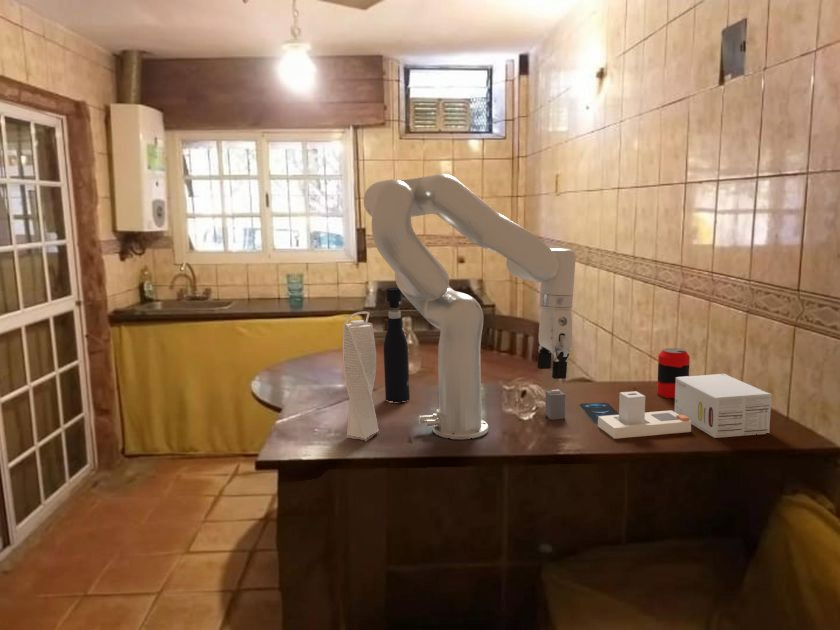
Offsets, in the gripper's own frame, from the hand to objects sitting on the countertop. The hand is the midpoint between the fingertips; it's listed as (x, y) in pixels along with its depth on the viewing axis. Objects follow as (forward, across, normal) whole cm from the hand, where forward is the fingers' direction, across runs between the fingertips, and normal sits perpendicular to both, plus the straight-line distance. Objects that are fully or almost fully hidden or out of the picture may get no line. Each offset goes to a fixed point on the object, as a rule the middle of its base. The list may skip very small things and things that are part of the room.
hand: (551, 373), depth 151 cm
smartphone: (+10, 0, -14) cm, 17 cm away
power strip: (+10, -13, -18) cm, 24 cm away
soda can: (+8, +9, -38) cm, 40 cm away
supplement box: (+9, -13, -36) cm, 39 cm away
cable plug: (+11, 0, -2) cm, 11 cm away
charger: (+10, -13, -15) cm, 22 cm away
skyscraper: (+14, -2, +44) cm, 46 cm away
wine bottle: (+13, +23, +33) cm, 43 cm away
